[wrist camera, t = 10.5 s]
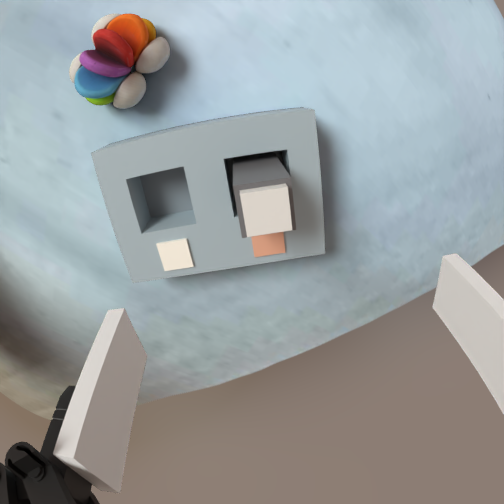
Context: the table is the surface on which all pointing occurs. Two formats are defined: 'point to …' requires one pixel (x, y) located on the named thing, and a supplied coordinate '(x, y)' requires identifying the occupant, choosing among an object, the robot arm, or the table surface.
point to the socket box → (208, 194)
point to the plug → (263, 195)
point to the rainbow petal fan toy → (118, 60)
